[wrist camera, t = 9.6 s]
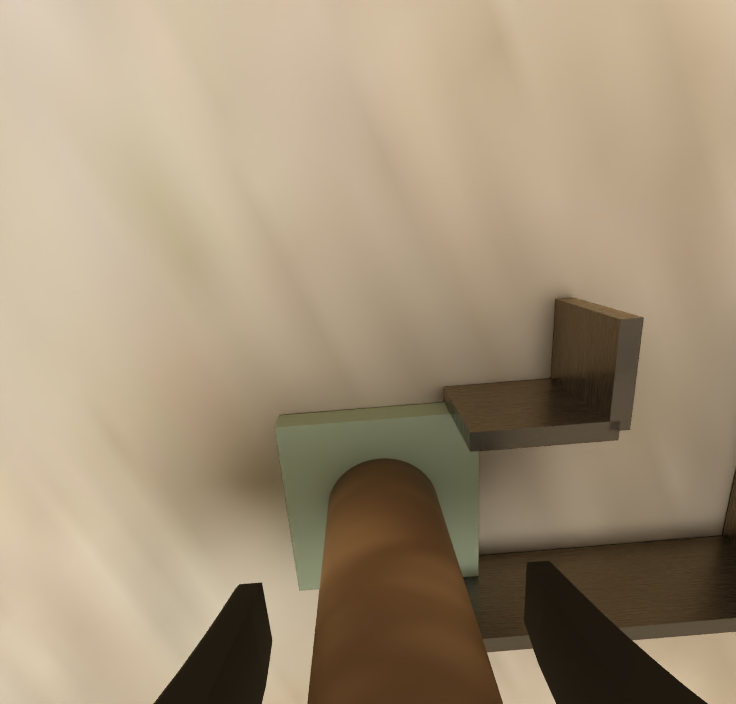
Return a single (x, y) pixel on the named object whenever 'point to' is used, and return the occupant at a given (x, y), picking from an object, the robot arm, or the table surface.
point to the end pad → (366, 442)
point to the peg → (394, 598)
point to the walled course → (582, 425)
